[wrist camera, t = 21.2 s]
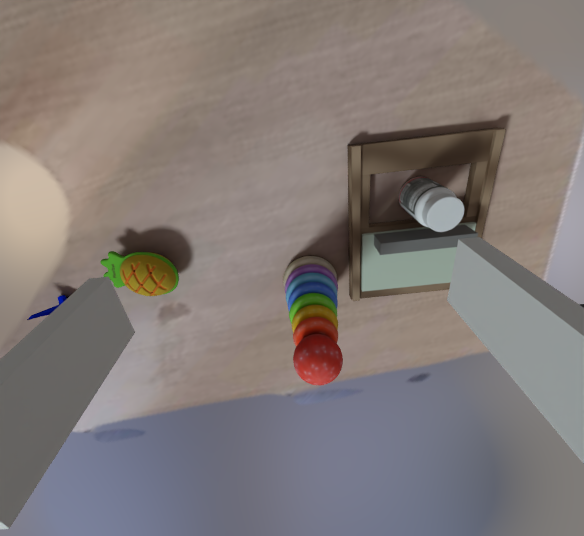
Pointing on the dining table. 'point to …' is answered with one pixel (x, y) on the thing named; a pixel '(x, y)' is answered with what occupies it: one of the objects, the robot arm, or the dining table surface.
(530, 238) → the dining table surface
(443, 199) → the pill bottle
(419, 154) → the wooden frame
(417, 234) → the lid
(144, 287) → the toy pineapple
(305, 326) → the stacking toy
